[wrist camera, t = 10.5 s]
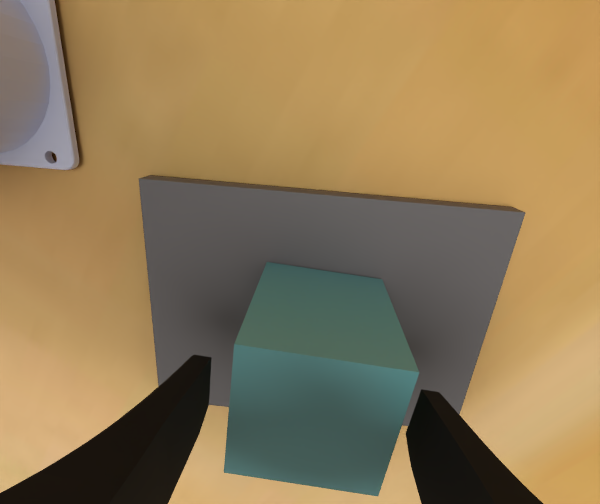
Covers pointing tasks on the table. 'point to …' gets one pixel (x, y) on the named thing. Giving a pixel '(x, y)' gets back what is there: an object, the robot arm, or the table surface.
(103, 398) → the table surface
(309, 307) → the teal square block
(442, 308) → the pin stand
